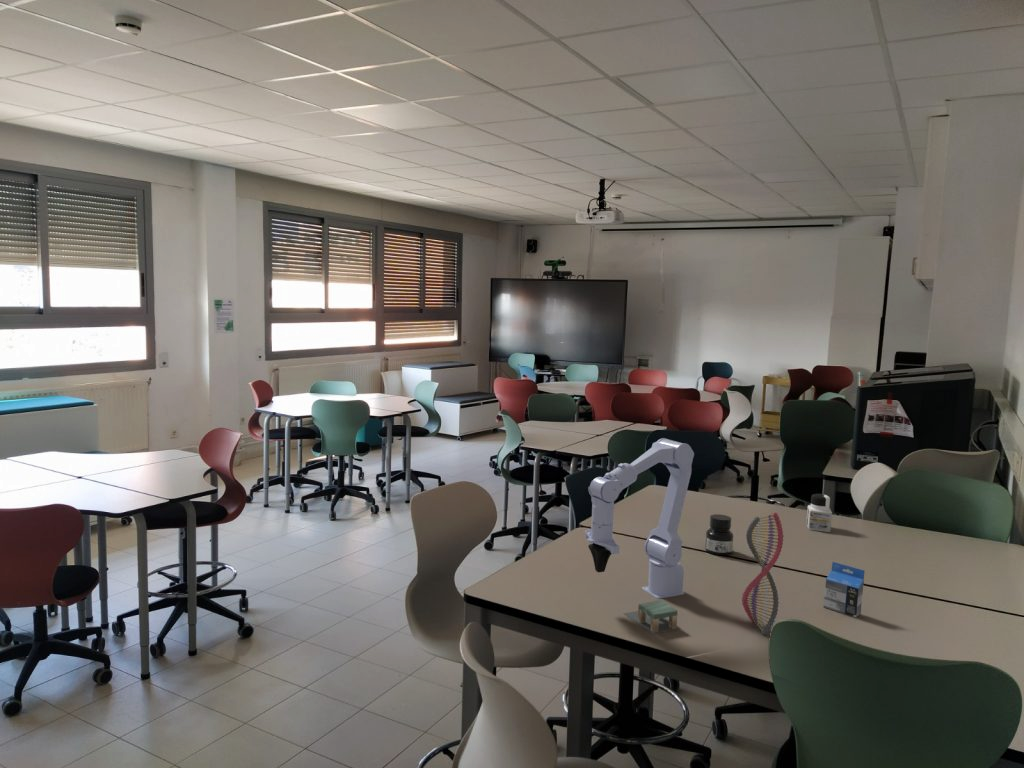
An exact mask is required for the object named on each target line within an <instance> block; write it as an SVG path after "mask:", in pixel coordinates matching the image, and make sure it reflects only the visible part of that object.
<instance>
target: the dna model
mask: <svg viewBox="0 0 1024 768" xmlns="http://www.w3.org/2000/svg"><path fill="white" fill-rule="evenodd" d="M778 515H779V514H778V513H777V512H775V511H773V512H772V514H767V516H765V517H759V516H755V517H754V519H752V521H751V522H750V524H749V526H748V527H747V531H746V535H745V536H746V543H747V545H748V548H749V550H750V552H751V554H752V556H753V557H754V558H755V560H756V561H757V563H758V565H759V567H761V571H760V573H759V574H757V576H756V577H755V578H754V579H753V580H752V581H750V583H748V585H747V587H746V588H745V589H744V591H743V592H742V597H741V603H742V607H743V610H744V611H745V613H746V615H747V616H748V618H749V619H750V621H751V622H752V623H754V624H755V625H756V626H758V627H759V629H760V630H761V634H762V636H766V635H768V632H770V630H771V629H772V626H773V625H774V623H775V619H776V618H777V615H778V611H779V603H780V602H779V593H778V590H777V589H778V588H777V586H776V583H775V581H774V579H773V576H772V574H771V572H770V571H771V569H772V568H774V567H773V566H775V565H776V562H777V561H778V559H779V556H780V555H781V552H782V548H783V545H784V542H783V541H784V531H783V528H782V526H783V525H782V523H781V522H782V521H781V520H780V516H778ZM772 517H773V518H772ZM766 518H767V519H766ZM774 530H777V531H774ZM776 537H778V538H776ZM759 540H760V541H759ZM775 540H776V541H775ZM762 541H763V542H762ZM773 543H774V544H773ZM763 544H764V545H763ZM763 547H764V548H763ZM764 550H765V551H764ZM774 550H775V551H774ZM772 553H773V554H772ZM764 577H765V578H764ZM765 580H767V581H765ZM767 583H768V584H767ZM767 586H770V587H767ZM769 589H771V590H769ZM759 590H760V591H759ZM761 590H762V591H761ZM768 593H772V594H768ZM767 596H772V597H767ZM764 599H766V600H764ZM764 602H766V603H764ZM770 603H773V604H770ZM765 605H766V606H765ZM769 606H770V607H769ZM771 606H772V607H771ZM767 609H768V610H767ZM771 610H772V611H771ZM763 611H764V612H763ZM766 612H767V613H766ZM760 613H761V614H760ZM769 613H770V614H769ZM763 614H764V615H763ZM765 615H766V616H765ZM768 616H769V617H768ZM766 619H767V620H766ZM764 621H765V622H764ZM763 624H764V625H765V626H764V625H763Z"/></svg>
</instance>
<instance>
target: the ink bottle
mask: <svg viewBox="0 0 1024 768" xmlns="http://www.w3.org/2000/svg"><path fill="white" fill-rule="evenodd" d="M709 527H710V528H708V529H707V530H706V533H705V547H704V549H705V551H706V552H707V553H709V554H711V555H716V556H729V555H731V554H732V553H733V549H734V547H733V546H734V533H733V532H732V531H731V527H732V517H731V516H729V515H726V514H717V513H716V514H711V515H710V517H709Z"/></svg>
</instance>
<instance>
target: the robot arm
mask: <svg viewBox="0 0 1024 768" xmlns="http://www.w3.org/2000/svg"><path fill="white" fill-rule="evenodd" d="M694 457H695V452H694V451H693V449H692V447H691V445H689V443H685V442H684V443H682V442H679V441H676V440H672V439H668V438H665V437H662V438H660V439H658V440H657V441H655V442H652V445H651V447H650V448H649V449H648V450H646V451H645V452H644V453H643V454H641V455H640V456H639V457H638V458H636V459H635V460H633V461H632V462H631V463H627V462H624V463H619V464H617V467H616V468H614V469H612V470H611V471H610V472H606V473H605V474H604V476H603V477H602V476H597V477H595V478H594V479H593V480H591V482H590V485H589V486H588V487H587V489H588V493H589V495H590V498H591V505H592V506H591V526H590V527H591V528H590V529H586V530H584V538H585V539H586V540H587V543H589V544H588V549H589V551H590V553H591V556H592V560H593V565H594V569H595V572H597V573H604V572H605V571H606V568H607V564H608V561H609V559H610V557H611V555H617V554H620V545H619V544H617V543H616V541H615V540H614V538H613V530H614V512H615V511H614V509H615V507H614V506H615V501H616V500H617V499H618V498H619V495H620V493H622V491H623V490H624V489H626V488H627V487H629V486H630V485H632V484H633V483H635V482H636V481H637V479H638V475H639V474H641V473H642V472H645V471H646V470H648V469H650V468H651V467H653V466H655V465H657V464H658V463H661V464H663V465H664V466H666V468H667V469H668V472H669V473H670V476H669V479H668V482H667V488H666V491H665V496H664V499H663V505H662V508H661V513H660V516H659V521H658V524H657V527H655V528H652V529H651V530H650V532H649V536H648V538H647V539H646V540H645V543H644V545H643V546H644V552H645V554H646V555H647V560H649V564H648V584H647V586H642V587H641V590H643V591H644V592H646V593H647V594H649V595H651V596H652V597H654V598H655V599H658V600H661V599H665V598H671V597H676V596H677V597H678V596H681V595H685V592H684V567H683V565H682V563H681V562H680V561H681V559H682V556H683V554H682V553H683V551H682V545H683V540H682V538H681V536H680V534H679V533H678V529H679V524H680V520H681V516H682V513H683V510H684V509H683V508H684V505H685V504H684V503H685V501H686V496H687V491H688V487H689V484H690V479H691V475H692V464H693V459H694Z"/></svg>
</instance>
